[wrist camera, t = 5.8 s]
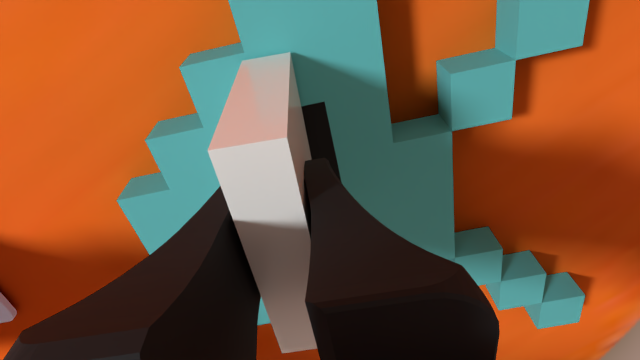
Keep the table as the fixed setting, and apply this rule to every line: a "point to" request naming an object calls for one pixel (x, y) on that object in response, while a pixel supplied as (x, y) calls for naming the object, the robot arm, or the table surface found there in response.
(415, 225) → the alien figure
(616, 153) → the table surface
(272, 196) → the tile
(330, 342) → the robot arm
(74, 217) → the table surface
